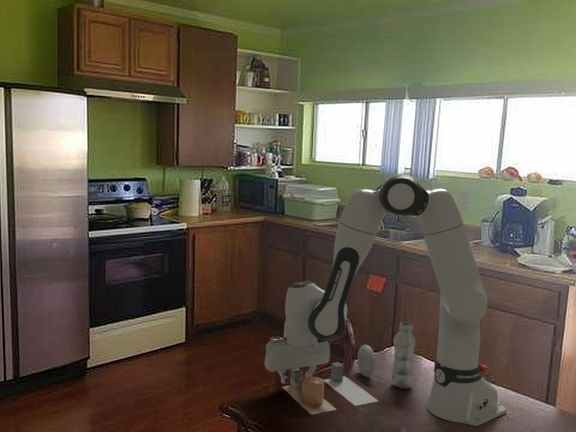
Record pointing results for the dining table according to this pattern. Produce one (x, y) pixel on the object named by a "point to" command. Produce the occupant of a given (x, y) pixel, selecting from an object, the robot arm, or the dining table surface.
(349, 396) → the grey strip
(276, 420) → the dining table surface
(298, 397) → the oak strip
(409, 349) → the plastic bottle
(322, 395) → the terracotta cylinder
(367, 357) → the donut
